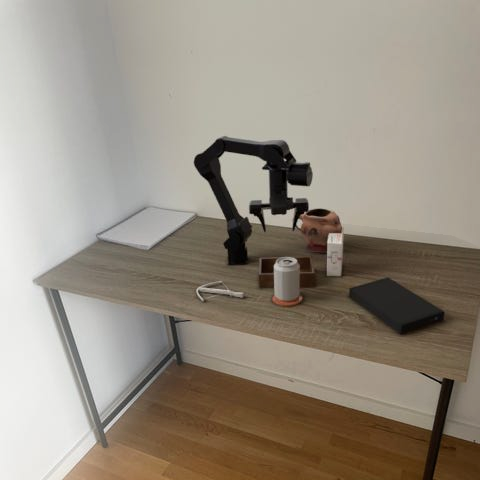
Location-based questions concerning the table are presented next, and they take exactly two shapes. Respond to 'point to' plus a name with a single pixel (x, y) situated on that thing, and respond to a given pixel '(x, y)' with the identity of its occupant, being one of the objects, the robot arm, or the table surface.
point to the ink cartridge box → (335, 253)
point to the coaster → (288, 303)
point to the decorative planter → (319, 228)
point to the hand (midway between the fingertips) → (279, 231)
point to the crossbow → (217, 291)
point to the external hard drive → (396, 305)
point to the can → (286, 279)
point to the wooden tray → (268, 271)
